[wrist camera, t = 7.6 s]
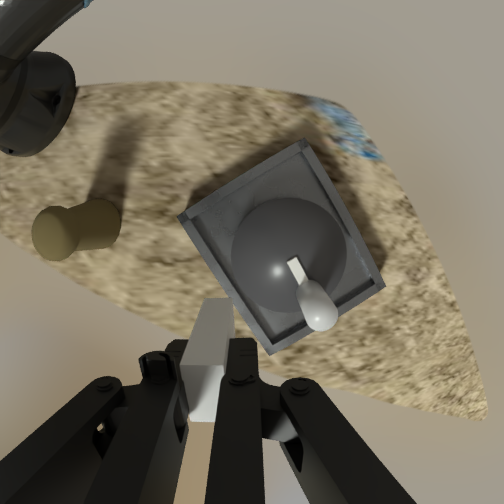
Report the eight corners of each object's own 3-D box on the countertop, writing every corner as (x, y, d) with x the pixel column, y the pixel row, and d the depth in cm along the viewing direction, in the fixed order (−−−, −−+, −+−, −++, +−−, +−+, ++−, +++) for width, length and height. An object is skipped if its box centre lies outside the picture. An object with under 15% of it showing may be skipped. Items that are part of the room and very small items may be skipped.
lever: (213, 231, 31) (197, 244, 22) (308, 178, 30) (329, 171, 21) (265, 319, 33) (269, 361, 24) (354, 270, 32) (388, 296, 23)
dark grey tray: (183, 214, 33) (176, 216, 30) (300, 142, 31) (304, 137, 28) (268, 343, 36) (269, 356, 33) (376, 279, 34) (386, 286, 31)
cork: (108, 189, 32) (53, 188, 22) (129, 234, 33) (80, 251, 23) (72, 213, 33) (15, 222, 22) (92, 257, 34) (39, 279, 23)
